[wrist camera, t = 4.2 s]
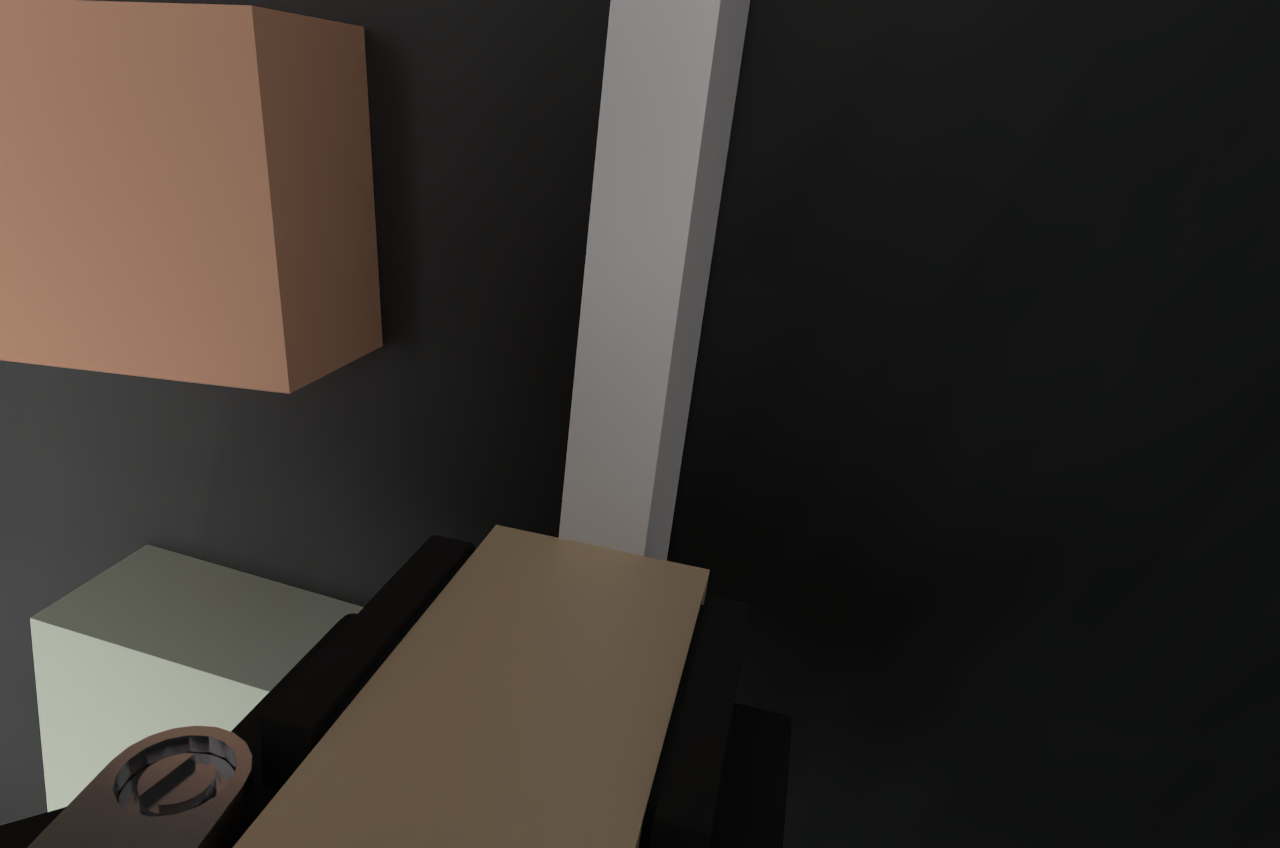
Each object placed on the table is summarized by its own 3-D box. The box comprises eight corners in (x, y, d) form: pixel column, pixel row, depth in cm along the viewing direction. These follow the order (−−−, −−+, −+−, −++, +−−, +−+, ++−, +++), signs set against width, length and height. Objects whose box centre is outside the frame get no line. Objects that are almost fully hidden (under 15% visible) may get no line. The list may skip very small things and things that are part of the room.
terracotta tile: (90, 19, 14) (-89, -5, 12) (371, 28, 13) (251, 5, 11) (137, 317, 16) (-9, 358, 13) (388, 342, 15) (290, 393, 12)
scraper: (605, -47, 12) (-128, -557, 3) (821, -25, 12) (780, -545, 2) (517, 897, 19) (205, 1675, 9) (654, 936, 18) (469, 1793, 9)
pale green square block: (155, 538, 18) (29, 618, 15) (382, 604, 17) (294, 700, 14) (160, 731, 19) (49, 833, 17) (366, 797, 19) (286, 914, 16)
